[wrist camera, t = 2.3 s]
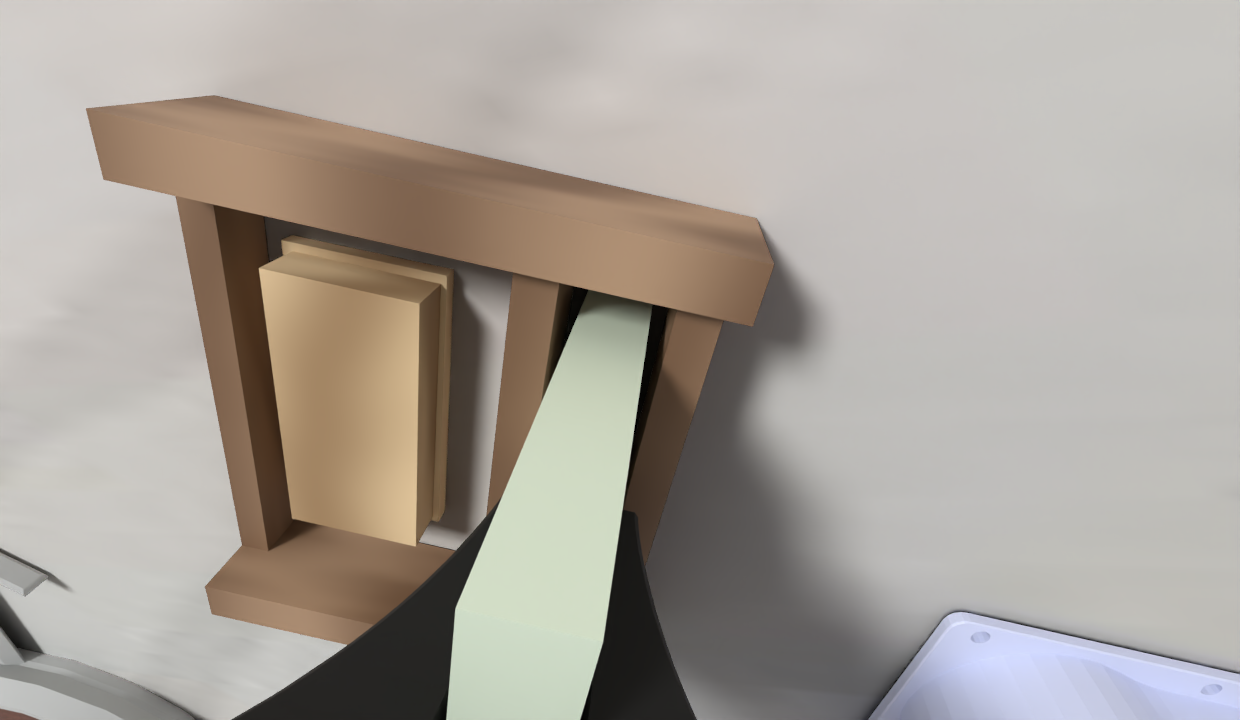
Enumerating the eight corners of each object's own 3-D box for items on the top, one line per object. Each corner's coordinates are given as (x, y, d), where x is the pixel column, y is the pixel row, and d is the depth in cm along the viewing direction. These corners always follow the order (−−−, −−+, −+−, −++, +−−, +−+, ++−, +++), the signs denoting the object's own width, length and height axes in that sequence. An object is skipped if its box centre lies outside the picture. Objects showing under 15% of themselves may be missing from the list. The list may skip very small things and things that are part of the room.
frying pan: (21, 489, 16) (273, 914, 29) (113, 430, 19) (306, 845, 32) (-478, 437, 18) (-26, 864, 31) (-330, 389, 20) (29, 802, 33)
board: (653, 295, 14) (602, 641, 6) (590, 555, 18) (511, 952, 10) (592, 281, 14) (455, 608, 6) (543, 544, 18) (428, 933, 10)
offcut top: (440, 283, 13) (419, 303, 12) (432, 516, 17) (416, 546, 16) (292, 251, 13) (259, 268, 12) (316, 489, 17) (292, 518, 16)
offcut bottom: (464, 259, 14) (447, 275, 13) (453, 494, 18) (438, 522, 17) (311, 226, 14) (281, 240, 13) (332, 468, 18) (309, 493, 17)
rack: (756, 218, 12) (774, 264, 10) (629, 615, 19) (620, 706, 16) (214, 95, 12) (86, 108, 10) (277, 535, 19) (211, 614, 16)
